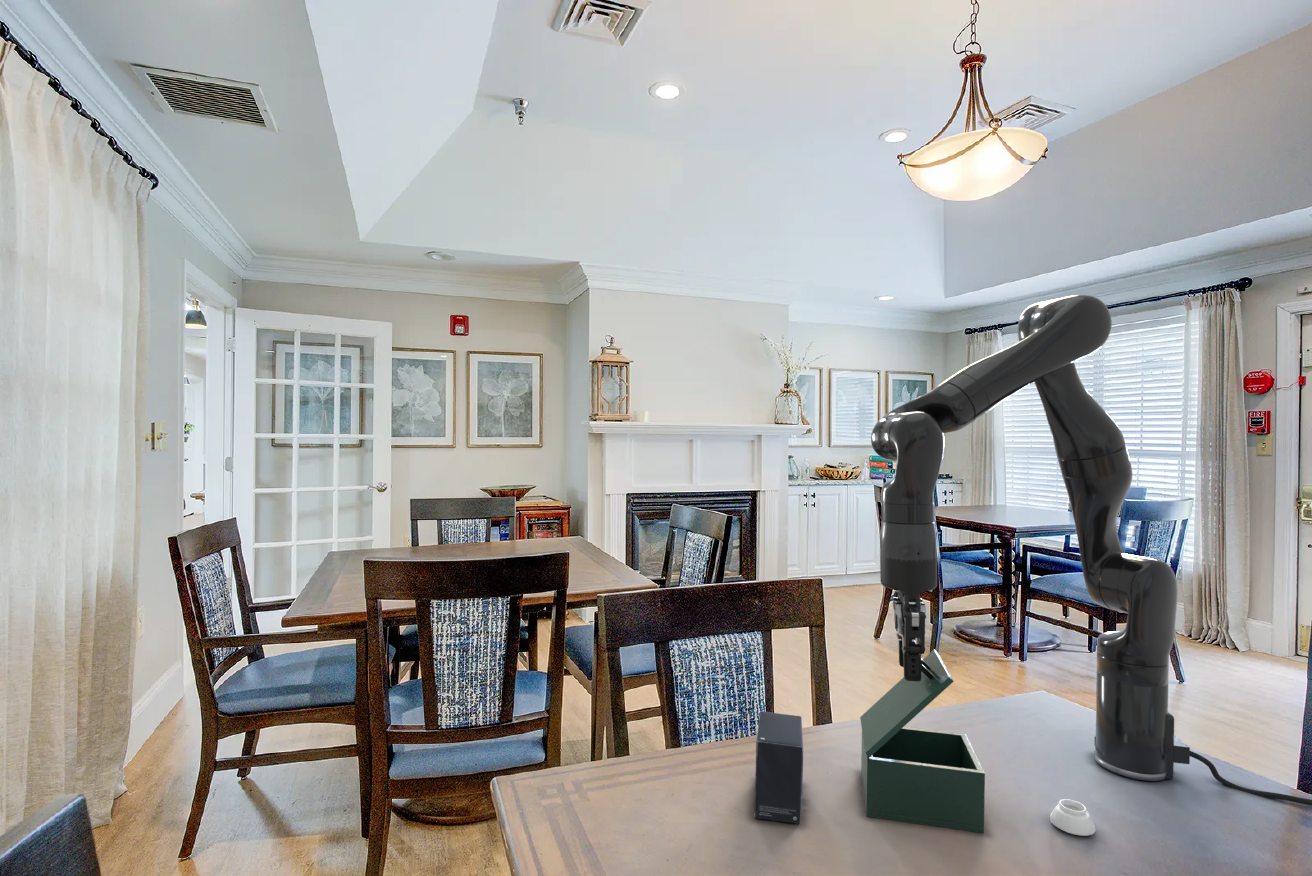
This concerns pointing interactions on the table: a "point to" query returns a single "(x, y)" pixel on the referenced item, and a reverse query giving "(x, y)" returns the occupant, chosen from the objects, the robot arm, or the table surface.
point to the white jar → (1072, 818)
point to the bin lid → (903, 703)
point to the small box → (779, 768)
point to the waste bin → (925, 780)
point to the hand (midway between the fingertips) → (909, 672)
